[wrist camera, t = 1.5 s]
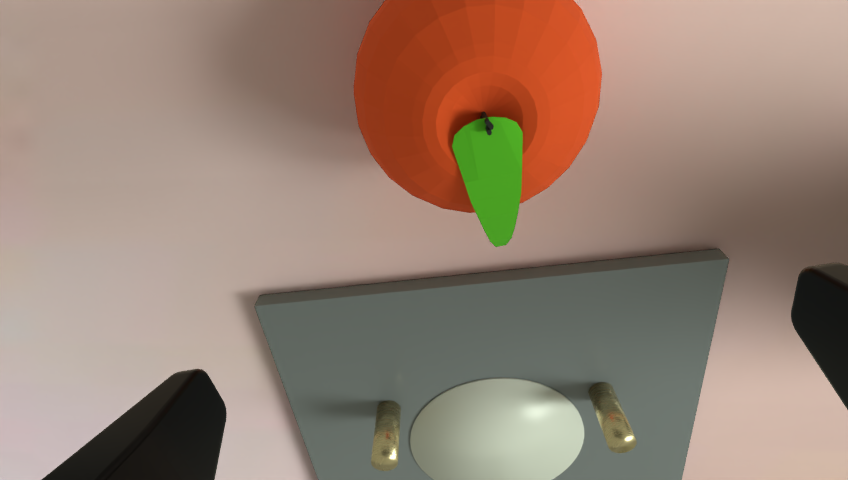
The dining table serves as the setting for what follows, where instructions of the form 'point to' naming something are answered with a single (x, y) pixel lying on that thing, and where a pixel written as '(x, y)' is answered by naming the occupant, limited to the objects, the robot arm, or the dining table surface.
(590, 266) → the nest plate
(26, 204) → the dining table surface
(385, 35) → the clementine
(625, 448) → the brass pins
